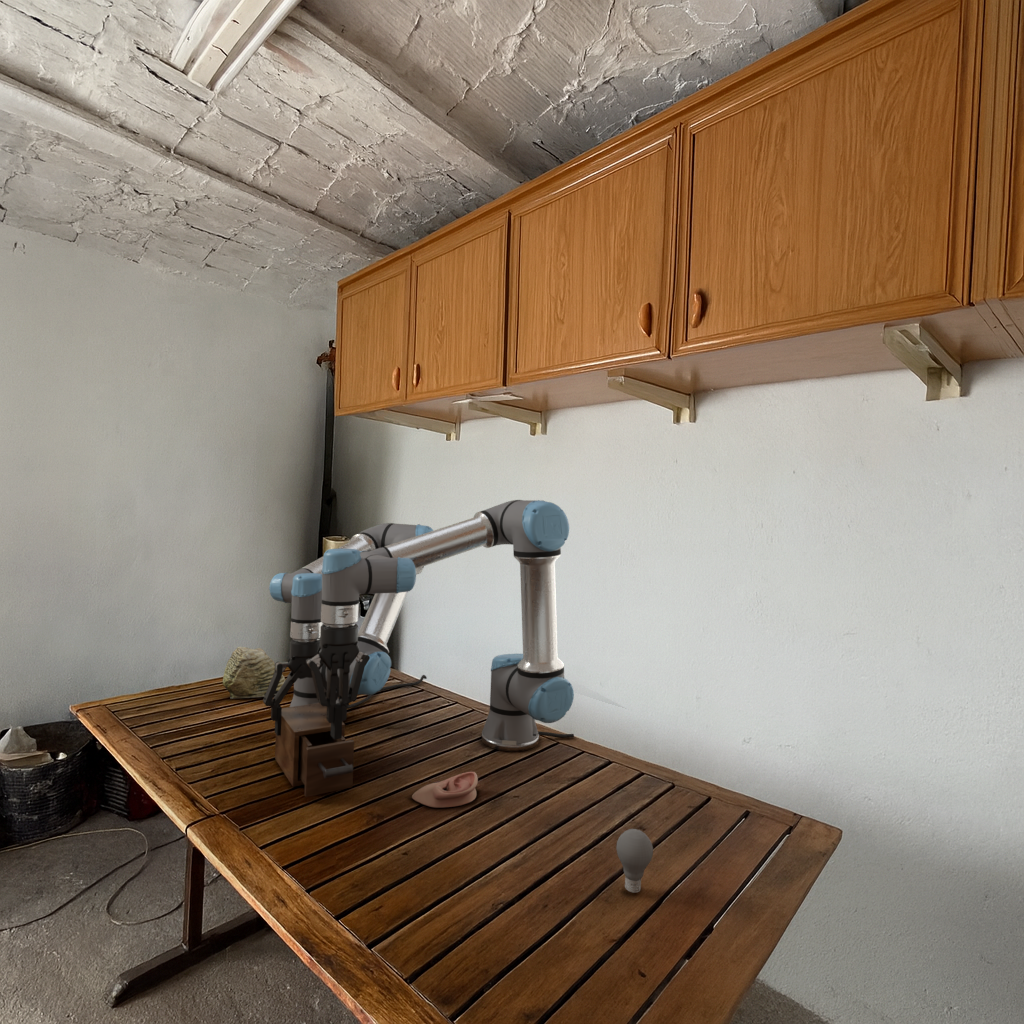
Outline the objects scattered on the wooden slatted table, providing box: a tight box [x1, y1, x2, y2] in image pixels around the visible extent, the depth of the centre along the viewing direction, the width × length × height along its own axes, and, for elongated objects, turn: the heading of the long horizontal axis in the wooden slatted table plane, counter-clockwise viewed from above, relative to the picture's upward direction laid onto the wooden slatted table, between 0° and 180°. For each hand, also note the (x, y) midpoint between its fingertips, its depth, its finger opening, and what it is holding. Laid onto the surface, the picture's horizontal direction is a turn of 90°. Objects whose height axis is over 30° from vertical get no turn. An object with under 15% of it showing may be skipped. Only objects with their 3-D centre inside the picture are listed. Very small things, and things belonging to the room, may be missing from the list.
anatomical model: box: [411, 771, 479, 809], centre depth 136 cm, size 13×4×12 cm
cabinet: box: [274, 703, 346, 788], centre depth 147 cm, size 17×11×12 cm, turn 33°
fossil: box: [222, 646, 286, 699], centre depth 198 cm, size 9×18×15 cm, turn 132°
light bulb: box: [615, 828, 654, 894], centre depth 106 cm, size 6×6×10 cm
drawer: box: [298, 731, 355, 798], centre depth 138 cm, size 22×10×10 cm, turn 33°
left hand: (303, 729), depth 152 cm, fingers closed on cabinet, 11 cm apart
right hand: (336, 736), depth 131 cm, fingers closed
